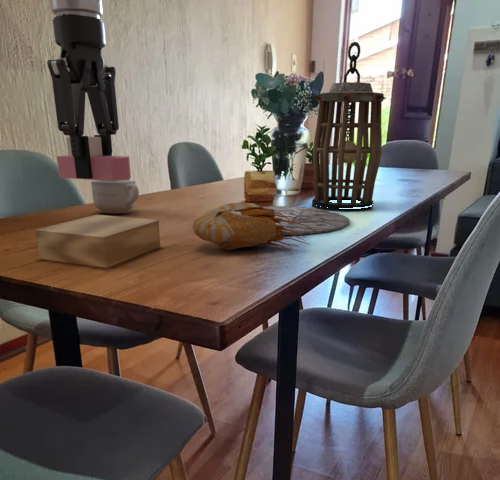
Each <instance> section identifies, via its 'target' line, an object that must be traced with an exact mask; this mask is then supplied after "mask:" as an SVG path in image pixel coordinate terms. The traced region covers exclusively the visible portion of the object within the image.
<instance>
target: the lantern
mask: <svg viewBox="0 0 500 480" xmlns="http://www.w3.org/2000/svg"><path fill="white" fill-rule="evenodd" d="M353 47H356V48H357V49H356V50H357V53H356V55H355V54H352V55H351V51H352V48H353ZM360 55H361V45H360V44H359V42H357V41H353V42H351V43H350V45H348V48H347V57H348V59H349V68H348V69H347V70H346V72H345V74H344V75H343V77H344V78H343V82H334V83H332V84H331V86H330V88H329V91H328V92H321V93H317V95H315V96H314V98H315V99H316V100H317V102H319V104H318V105H319V106H318V112H317V119H316V128H315V132H314V139H313V141H314V142H313V147H312V163H313V164H312V167H313V179H314V198H312V199H311V207H313V208H314V209H321V210H326V211H330V212H346V213H347V212H365V211H370V209H371V210H372V209H373V207H374V200H373V197H374V192H375V191H374V190H375V184H376V180H377V175H378V172H379V168H380V163H381V159H382V152H383V151H382V143H383V141H382V140H383V134H382V132H383V131H382V109H383V108H382V104H383V102H384V100H387V97H386V96H385V94H384V93H383V92H375V91H374V90H373V87H372V84H371V83H370V82H361V74H360V72H359V70H358V68H357V60H358V59H359V57H360ZM349 74H351V75H354V74H355V75H356V78H357V79H356V81H355V82H350V81H348V76H349ZM357 103H358V110H357V111H358V115H357V122H356V109H357ZM335 108H336V110H335ZM369 115H370V116H369ZM369 118H370V119H369ZM334 119H335V120H334ZM369 121H370V122H369ZM333 128H334V129H333ZM356 128H357V129H356ZM355 129H356V143H355ZM333 130H334V132H333ZM332 132H333V142H332V145H330V144H331V138H332ZM330 154H332V157H331V158H332V159H331V179H330ZM368 154H369V155H368ZM345 164H346V169H345V167H344V166H345ZM353 164H354V168H353V175H352V166H353ZM344 169H345V170H344ZM344 171H345V178H344ZM365 172H366V173H365ZM351 175H352V176H353V177H352V179H351ZM364 178H365V179H364ZM350 184H352V185H350ZM350 190H351V195H350ZM330 200H337V203H332V202H329V201H330ZM342 200H351V203H342ZM356 200H358V201H361V202H360V203H356ZM372 204H373V205H372ZM316 205H317V206H316ZM370 205H372V207H368V208H361V209H339V208H353V207H365V206H370ZM320 206H321V207H320ZM327 207H328V208H327Z"/></svg>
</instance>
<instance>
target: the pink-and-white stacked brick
mask: <svg viewBox="0 0 500 480" xmlns="http://www.w3.org/2000/svg"><path fill="white" fill-rule="evenodd" d="M65 141H66V148H67V149H66V150H67V154H66V155H65V154H64V155H57V156H56V160H57V168H58V169H57V170H58V177H59V179H70V180H71V179H75V180H87V181H89V180H90V181H93V180H105V181H116V180H130V181H131V178H132V176H131V162H130V156H128V155H112V156H104V155H103V154H102V144H101V137H94V136H88V141H89V150H90V160H91V169H92V178H91V179H86V178H76V170H75V162H74V157H73V155H72V151H71V143H70V136H66V137H65Z"/></svg>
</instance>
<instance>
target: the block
mask: <svg viewBox="0 0 500 480" xmlns="http://www.w3.org/2000/svg"><path fill="white" fill-rule="evenodd" d="M159 221H160V220H158V219H151V218H150V219H149V218H139V217H128V216H117V215H107V214H106V215H105V214H93V215H89V216H86V217H81V218H78V219H73V220H69V221H65V222H61V223H57V224H53V225H49V226H45V227H40V228H37V229H35V237H36V243H37V251H38V255H39V259H40V260H44V261H45V260H46V261H51V262H52V261H54V262H60V263H67V264H68V263H69V264H76V265H83V266H90V267H98V268H103V269H104V268H105V269H108V268H111V267H113V266H117V265H119V264H121V263H124V262H126V261H128V260H131V259H133V258H136V257H138V256H142V255H144V254H146V253H149V252H151V251H155V250H156V249H159V248H161V235H160V234H161V233H160V222H159Z"/></svg>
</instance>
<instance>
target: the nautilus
mask: <svg viewBox="0 0 500 480" xmlns="http://www.w3.org/2000/svg"><path fill="white" fill-rule="evenodd" d="M265 207H266V206H260V205H258V204H256V203H253V202H230V203H226V204H223V205H220V206H218V207H215V208H212V209H210V210H208V211H206V212H205V213H202V214H201V215H200V216H197V217H196V218H195V219H193V224H192V229H193V232H194V233H193V234H194V235H195V236H196V237H198V238H199V239H201V240H202V241H204V242H205V241H206V242H209V243H212V244H215V245H216V246H219V247H220V248H223V249H224V250H227V251H232V250H236V249H237V250H238V249H240V248H249V247H253V248H254V247H259V246H273V247H275V246H276V247H280V248H282V249H284V250H286V251H289V252H291V250H290V249H289V248H287V247H286V246H289V247H292V248H294V246H295V247H298V244H294V243H286V242H284V241H283V240H292V241H295V242H299V243H302V244H306V245H308V246H309V245H310V244H311V243H308V242H305V241H306V240H305V239H307V237H306V236H305V235H301V234H299V233H297V232H295V231H293V230H289V229H285V228H284V226H282V225H281V224H280V223H278V222H282V221H283V222H288V223H290V224H291V225H293V224H292V223H297V222H293V221H290V220H289V219H288V218H287V217H292V216H284V215H283V214H281V213H278V212H280V211H277V212H274V211H276V210H274V209H271V208H265ZM287 211H289V210H287ZM276 213H277V214H281V215H282V216H280V215H277V214H276ZM275 216H280V217H285V218H286V219H288V220H289V221H285V220H282V218H275ZM297 217H301V216H297ZM293 218H295V217H293ZM291 222H292V223H291ZM276 223H278V224H280V225H281V226H279V225H276ZM297 224H301V223H297ZM301 225H304V224H301ZM304 226H306V225H304ZM307 227H308V226H307ZM308 228H309V227H308ZM282 230H286V231H293V232H295V233H297V234H299V235H294V234H292V233H288V232H283V231H282ZM280 232H281V233H286V234H291V236H289V237H288V236H282V235H280V234H278V233H280ZM276 234H278V235H276ZM292 236H294V237H295V238H292ZM302 237H303V238H302ZM296 238H298V239H296ZM299 239H300V240H299ZM302 240H303V241H302ZM278 243H280V244H282V245H280V244H278ZM284 245H285V246H284Z"/></svg>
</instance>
